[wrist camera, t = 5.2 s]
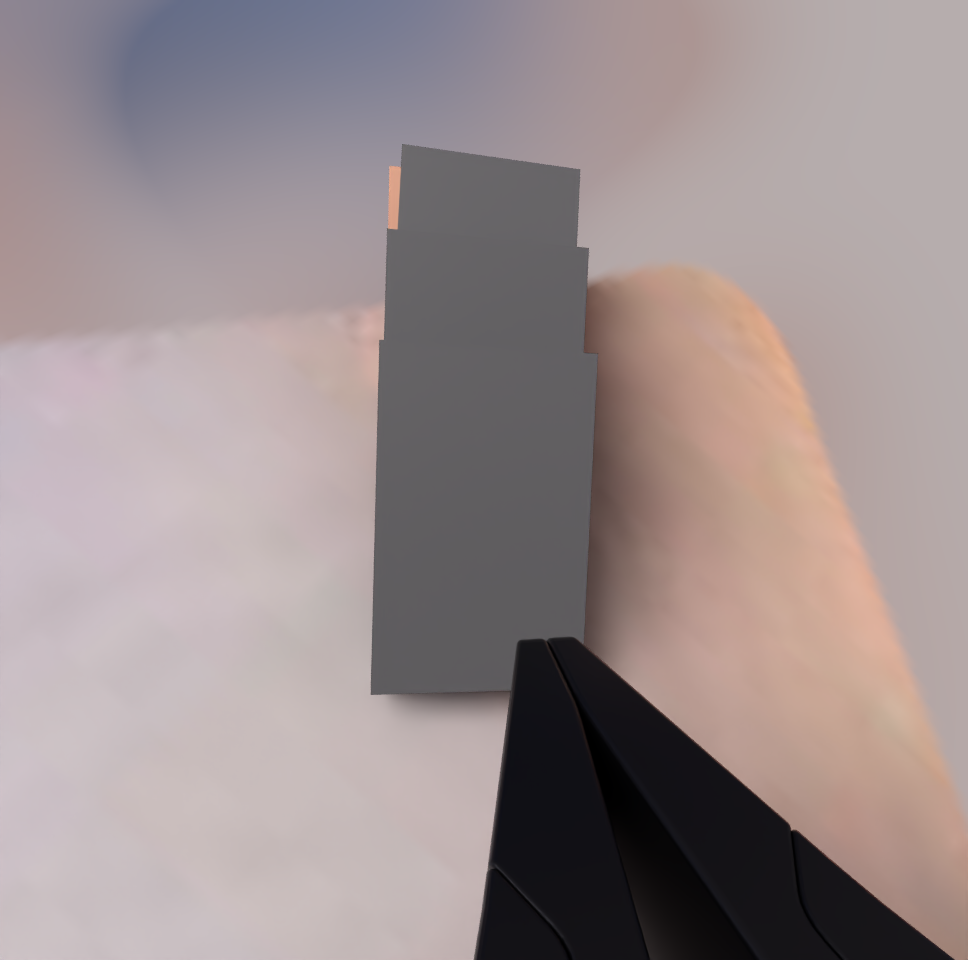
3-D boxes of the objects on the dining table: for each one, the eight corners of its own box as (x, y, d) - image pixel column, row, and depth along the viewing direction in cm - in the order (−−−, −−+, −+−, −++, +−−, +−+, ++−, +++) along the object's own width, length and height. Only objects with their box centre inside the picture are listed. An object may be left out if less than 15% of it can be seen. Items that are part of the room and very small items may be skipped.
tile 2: (573, 562, 14) (588, 247, 14) (377, 560, 13) (387, 228, 13) (560, 552, 15) (573, 263, 15) (379, 551, 15) (388, 246, 14)
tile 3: (568, 450, 15) (580, 169, 15) (386, 439, 14) (401, 144, 15) (556, 453, 16) (567, 192, 17) (387, 443, 16) (402, 169, 16)
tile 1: (581, 688, 13) (597, 353, 13) (370, 694, 12) (379, 339, 12) (567, 668, 14) (581, 361, 14) (374, 673, 14) (381, 349, 13)
